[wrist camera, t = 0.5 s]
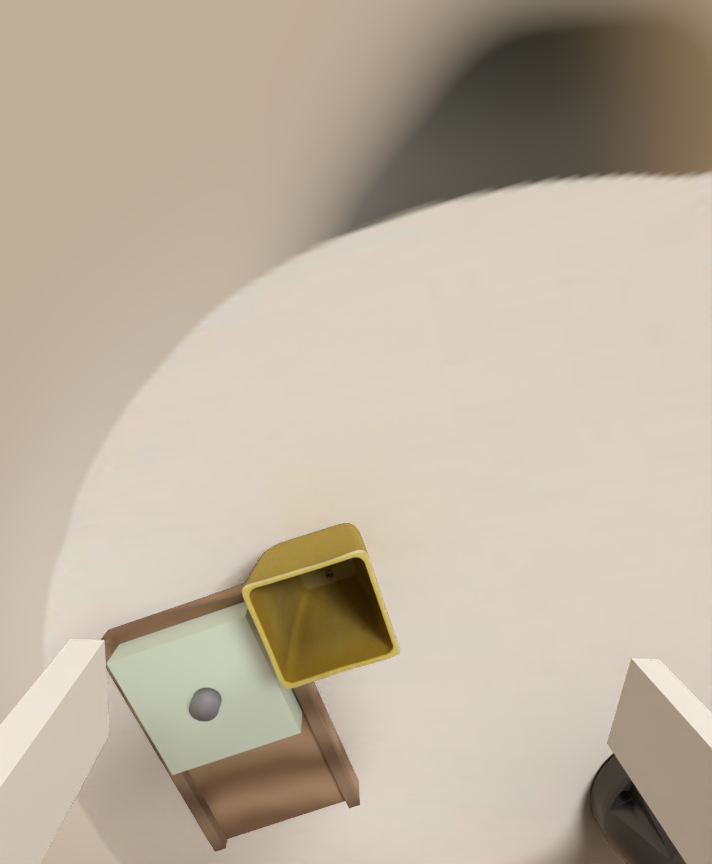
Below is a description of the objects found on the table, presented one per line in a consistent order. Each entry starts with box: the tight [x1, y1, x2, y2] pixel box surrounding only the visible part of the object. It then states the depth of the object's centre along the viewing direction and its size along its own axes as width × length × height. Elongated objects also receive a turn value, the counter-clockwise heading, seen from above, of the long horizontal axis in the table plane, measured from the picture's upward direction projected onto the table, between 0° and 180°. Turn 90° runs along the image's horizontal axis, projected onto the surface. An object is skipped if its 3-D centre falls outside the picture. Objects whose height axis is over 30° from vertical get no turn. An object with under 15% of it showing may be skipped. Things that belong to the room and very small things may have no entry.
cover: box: [106, 602, 303, 775], centre depth 37 cm, size 12×12×3 cm
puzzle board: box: [101, 584, 360, 851], centre depth 41 cm, size 25×15×2 cm, turn 19°
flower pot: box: [241, 523, 400, 689], centre depth 34 cm, size 9×9×9 cm
